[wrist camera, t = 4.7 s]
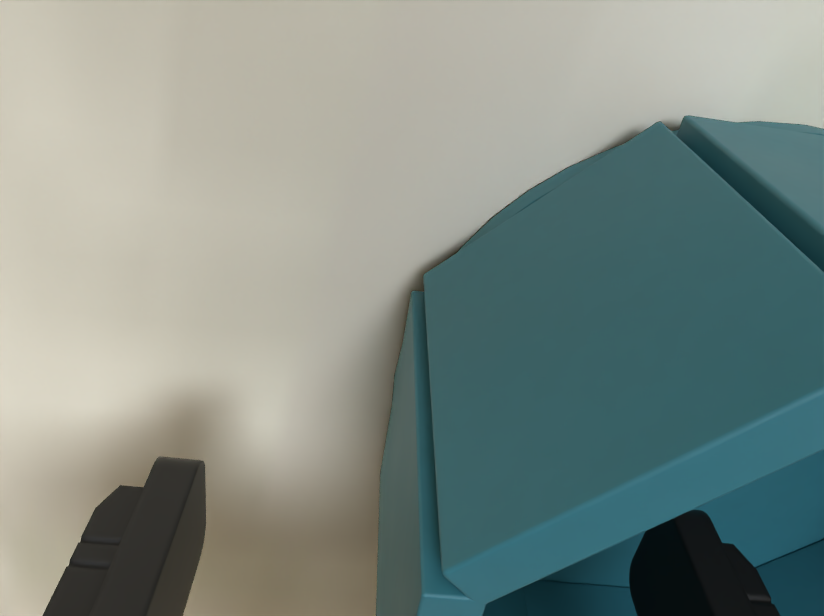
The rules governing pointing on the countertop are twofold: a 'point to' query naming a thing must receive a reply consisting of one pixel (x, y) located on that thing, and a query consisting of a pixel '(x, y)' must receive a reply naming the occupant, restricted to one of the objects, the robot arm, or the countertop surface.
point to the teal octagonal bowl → (616, 381)
